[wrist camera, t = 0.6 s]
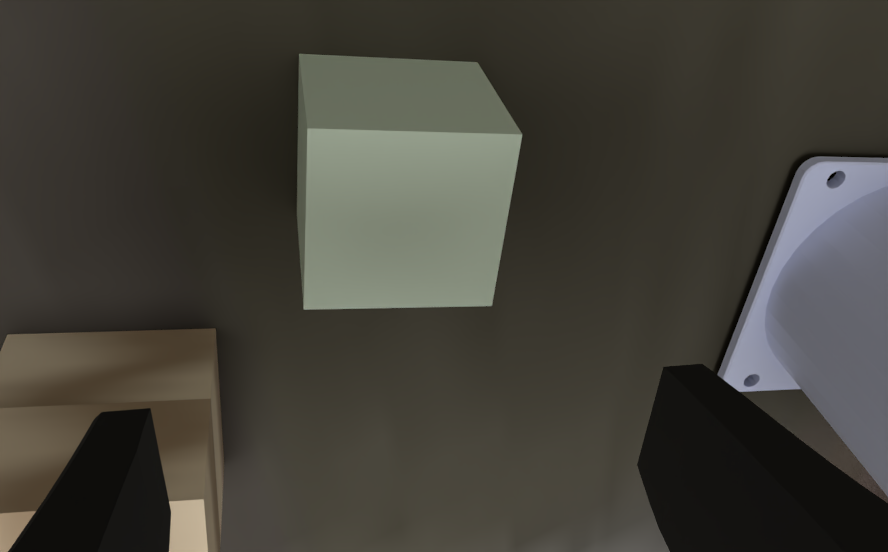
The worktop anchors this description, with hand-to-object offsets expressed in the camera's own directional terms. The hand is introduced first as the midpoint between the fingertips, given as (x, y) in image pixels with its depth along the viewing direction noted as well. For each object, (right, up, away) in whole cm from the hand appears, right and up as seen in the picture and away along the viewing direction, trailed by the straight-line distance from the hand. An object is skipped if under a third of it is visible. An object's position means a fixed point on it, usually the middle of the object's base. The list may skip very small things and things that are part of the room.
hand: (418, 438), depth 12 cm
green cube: (-1, +6, +8) cm, 10 cm away
